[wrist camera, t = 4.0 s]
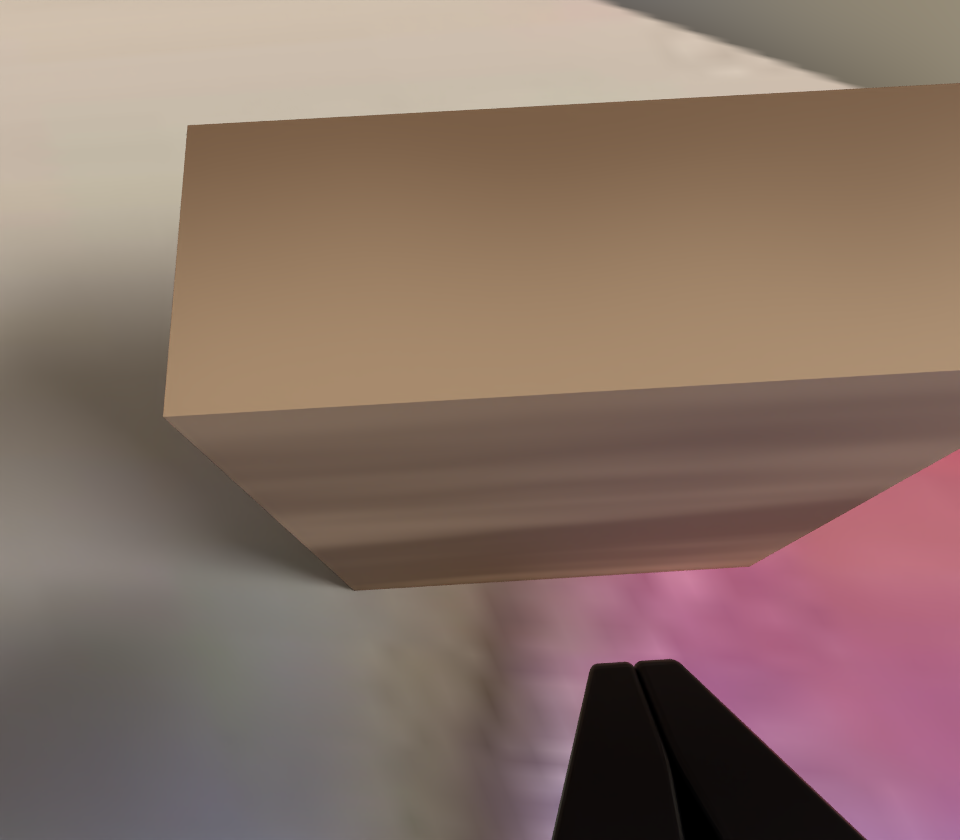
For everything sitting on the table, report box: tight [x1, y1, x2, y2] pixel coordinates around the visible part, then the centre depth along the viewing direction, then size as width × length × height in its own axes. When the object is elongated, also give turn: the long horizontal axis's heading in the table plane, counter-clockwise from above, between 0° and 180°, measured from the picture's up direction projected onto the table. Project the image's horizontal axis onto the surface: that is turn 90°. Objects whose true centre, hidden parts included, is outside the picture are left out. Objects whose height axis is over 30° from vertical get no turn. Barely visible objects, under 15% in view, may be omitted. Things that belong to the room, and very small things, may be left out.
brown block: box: [163, 83, 960, 591], centre depth 12 cm, size 3×8×10 cm, turn 94°
